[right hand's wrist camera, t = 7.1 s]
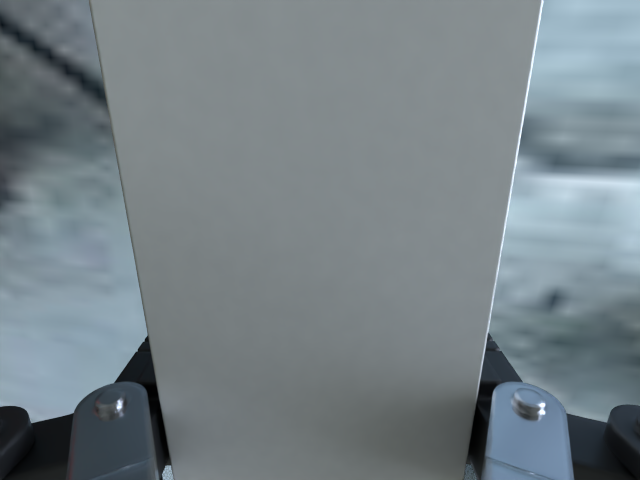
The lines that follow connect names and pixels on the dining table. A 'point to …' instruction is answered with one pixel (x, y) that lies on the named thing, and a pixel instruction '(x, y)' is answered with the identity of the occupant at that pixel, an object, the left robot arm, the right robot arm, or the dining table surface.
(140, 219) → the box
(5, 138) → the dining table surface
